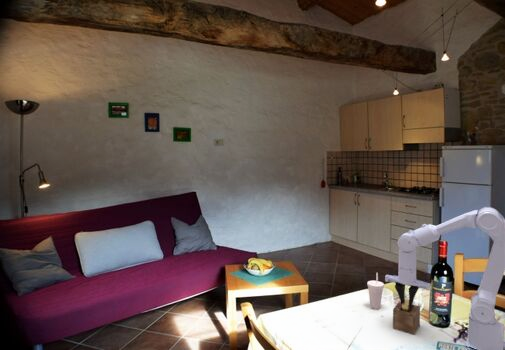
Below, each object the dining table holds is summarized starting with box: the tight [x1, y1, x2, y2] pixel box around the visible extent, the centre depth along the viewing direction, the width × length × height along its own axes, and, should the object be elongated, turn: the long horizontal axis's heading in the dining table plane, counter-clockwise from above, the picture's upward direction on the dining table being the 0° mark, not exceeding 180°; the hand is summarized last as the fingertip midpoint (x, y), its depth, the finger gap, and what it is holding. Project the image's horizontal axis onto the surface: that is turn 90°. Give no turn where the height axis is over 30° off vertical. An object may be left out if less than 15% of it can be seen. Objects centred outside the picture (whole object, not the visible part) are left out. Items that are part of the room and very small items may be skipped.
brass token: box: [402, 298, 411, 313], centre depth 119 cm, size 5×2×4 cm, turn 142°
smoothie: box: [366, 272, 385, 310], centre depth 135 cm, size 6×6×14 cm
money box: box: [392, 300, 421, 335], centre depth 119 cm, size 7×8×7 cm
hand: (406, 305), depth 119 cm, fingers closed on brass token, 2 cm apart
